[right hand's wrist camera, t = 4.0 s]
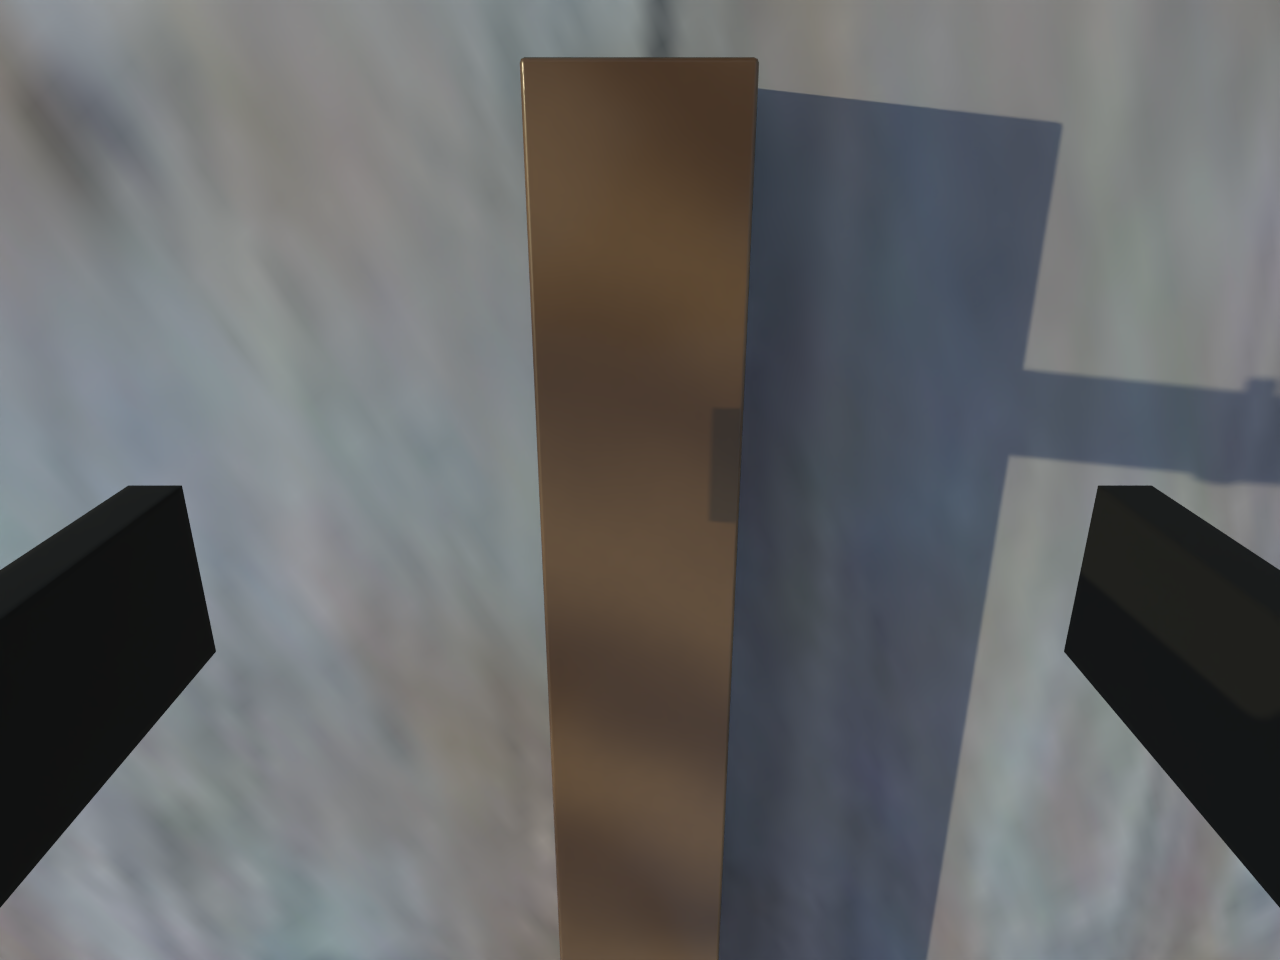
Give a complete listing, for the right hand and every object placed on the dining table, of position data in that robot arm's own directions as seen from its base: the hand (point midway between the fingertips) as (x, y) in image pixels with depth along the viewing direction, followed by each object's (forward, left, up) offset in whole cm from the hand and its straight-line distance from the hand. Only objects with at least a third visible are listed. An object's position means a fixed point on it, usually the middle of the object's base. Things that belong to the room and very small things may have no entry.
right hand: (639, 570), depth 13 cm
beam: (+17, +30, -14) cm, 37 cm away
